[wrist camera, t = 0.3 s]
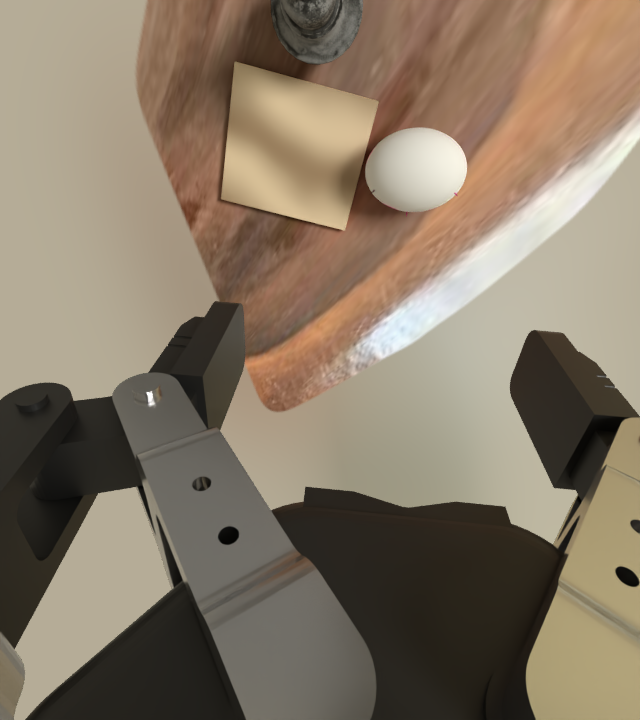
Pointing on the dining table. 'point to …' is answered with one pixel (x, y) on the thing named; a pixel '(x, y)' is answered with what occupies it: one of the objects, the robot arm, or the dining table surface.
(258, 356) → the dining table surface
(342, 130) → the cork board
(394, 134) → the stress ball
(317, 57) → the grey chess piece
